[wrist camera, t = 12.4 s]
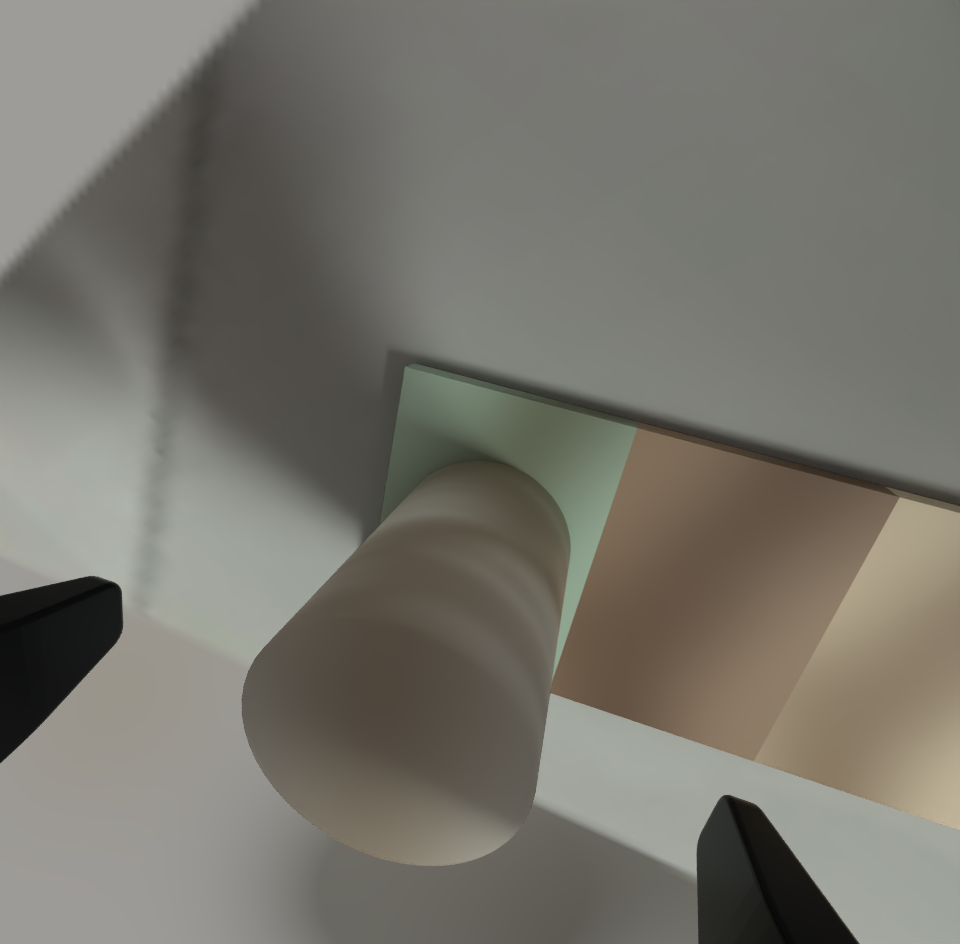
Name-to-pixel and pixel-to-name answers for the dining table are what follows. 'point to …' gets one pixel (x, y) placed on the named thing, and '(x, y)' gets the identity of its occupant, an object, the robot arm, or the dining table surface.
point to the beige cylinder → (421, 673)
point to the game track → (729, 589)
